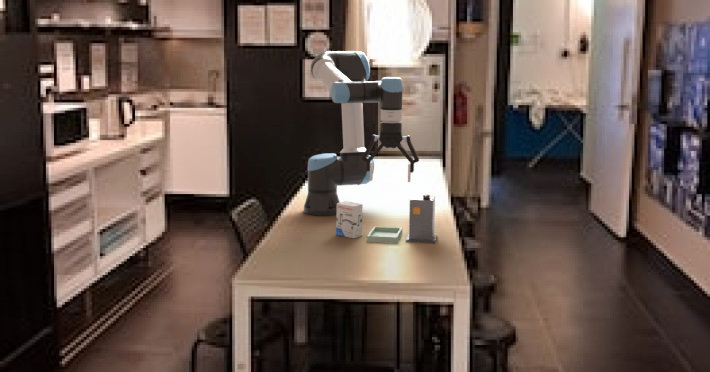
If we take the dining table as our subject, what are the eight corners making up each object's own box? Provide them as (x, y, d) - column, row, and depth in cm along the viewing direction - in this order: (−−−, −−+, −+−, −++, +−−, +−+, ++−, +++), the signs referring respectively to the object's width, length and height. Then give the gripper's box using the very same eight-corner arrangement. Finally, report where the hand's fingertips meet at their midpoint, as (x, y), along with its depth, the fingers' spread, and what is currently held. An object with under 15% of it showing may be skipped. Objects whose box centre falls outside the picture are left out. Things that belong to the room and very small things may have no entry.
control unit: (405, 241, 272) (406, 196, 269) (409, 234, 281) (409, 191, 278) (434, 243, 270) (435, 197, 267) (437, 236, 279) (438, 192, 276)
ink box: (335, 234, 281) (335, 202, 279) (344, 232, 285) (344, 200, 283) (354, 238, 276) (354, 206, 273) (362, 236, 279) (363, 203, 277)
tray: (367, 241, 272) (367, 235, 271) (373, 231, 286) (373, 226, 285) (396, 243, 270) (397, 237, 270) (402, 233, 284) (402, 227, 283)
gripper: (354, 121, 274) (354, 181, 278) (426, 123, 271) (424, 183, 275) (357, 119, 281) (356, 177, 285) (427, 121, 278) (425, 180, 282)
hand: (390, 180), depth 280 cm, fingers open, 13 cm apart
